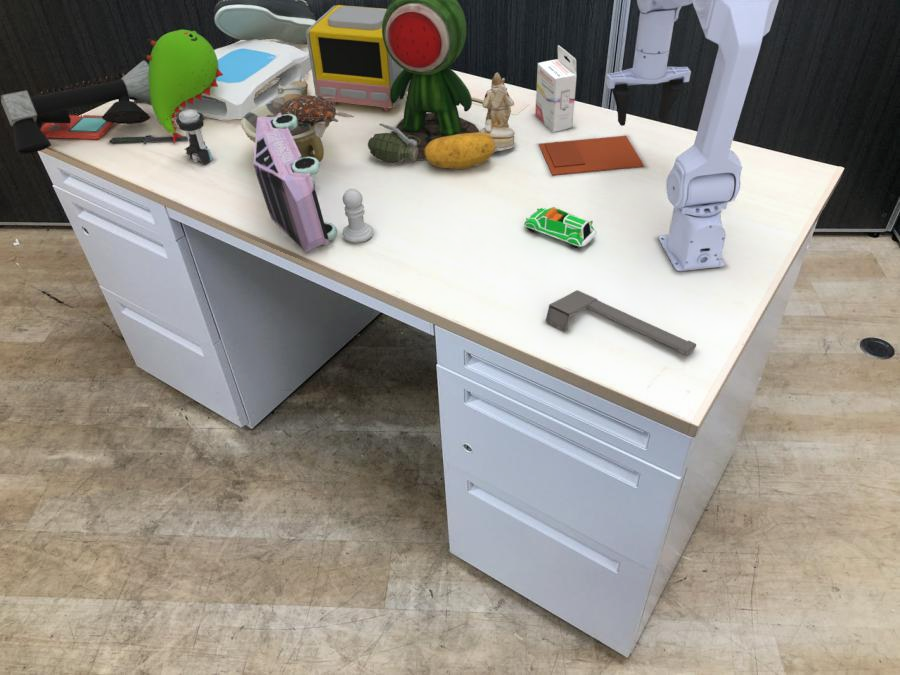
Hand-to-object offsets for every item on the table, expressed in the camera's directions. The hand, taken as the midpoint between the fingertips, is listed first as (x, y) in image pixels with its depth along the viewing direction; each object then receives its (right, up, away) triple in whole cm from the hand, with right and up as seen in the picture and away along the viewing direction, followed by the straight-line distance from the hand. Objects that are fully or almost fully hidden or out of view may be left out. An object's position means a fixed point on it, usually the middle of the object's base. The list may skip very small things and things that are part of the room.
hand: (641, 121), depth 140 cm
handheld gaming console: (-124, +7, +27) cm, 127 cm away
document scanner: (-83, +17, +37) cm, 93 cm away
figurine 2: (-25, -1, +15) cm, 29 cm away
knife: (-98, +1, +20) cm, 100 cm away
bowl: (-66, -4, +14) cm, 68 cm away
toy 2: (-55, -1, +6) cm, 55 cm away
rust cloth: (-7, -4, +11) cm, 14 cm away
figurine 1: (-39, +2, +18) cm, 43 cm away
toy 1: (-98, +14, +18) cm, 101 cm away
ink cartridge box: (-13, +6, +22) cm, 26 cm away
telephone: (-100, +14, +28) cm, 105 cm away
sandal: (-71, +12, +32) cm, 79 cm away
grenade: (-51, 0, +11) cm, 52 cm away
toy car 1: (-58, -11, -6) cm, 59 cm away
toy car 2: (-16, -22, -8) cm, 28 cm away
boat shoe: (-78, +35, +45) cm, 97 cm away
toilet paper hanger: (-10, -40, -27) cm, 49 cm away
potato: (-33, -6, +10) cm, 35 cm away
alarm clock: (-53, +15, +34) cm, 65 cm away
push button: (-86, -4, +15) cm, 87 cm away
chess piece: (-51, -22, -6) cm, 56 cm away
